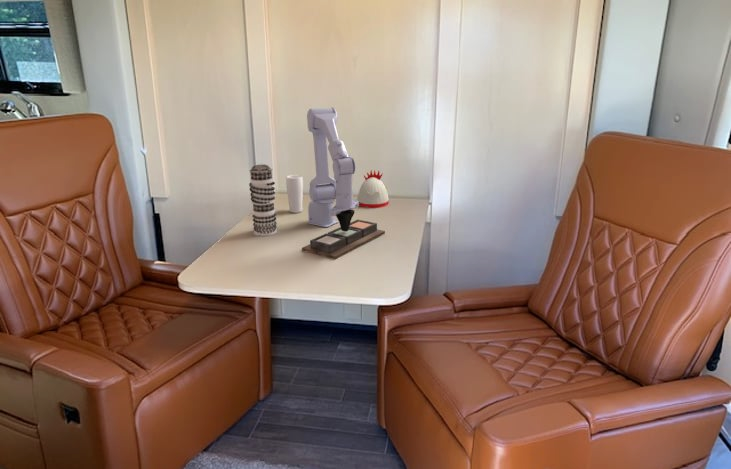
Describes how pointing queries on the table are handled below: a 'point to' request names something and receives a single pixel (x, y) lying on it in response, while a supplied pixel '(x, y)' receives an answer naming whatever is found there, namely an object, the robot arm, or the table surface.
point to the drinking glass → (295, 192)
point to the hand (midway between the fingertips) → (344, 230)
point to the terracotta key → (360, 225)
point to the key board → (344, 241)
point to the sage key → (345, 232)
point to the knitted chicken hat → (373, 192)
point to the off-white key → (328, 240)
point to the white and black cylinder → (263, 200)
